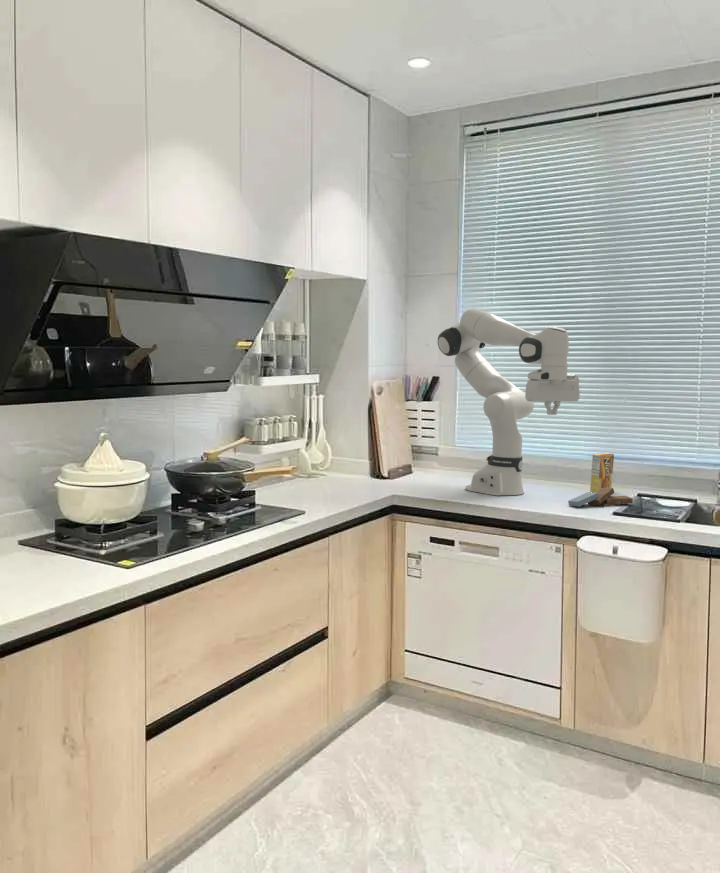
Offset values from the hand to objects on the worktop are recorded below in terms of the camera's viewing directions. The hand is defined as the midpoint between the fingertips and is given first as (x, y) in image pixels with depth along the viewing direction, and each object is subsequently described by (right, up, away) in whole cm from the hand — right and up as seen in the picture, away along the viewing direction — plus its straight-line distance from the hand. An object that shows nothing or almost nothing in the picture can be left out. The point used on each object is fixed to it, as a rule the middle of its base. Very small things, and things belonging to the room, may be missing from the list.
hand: (551, 414), depth 272 cm
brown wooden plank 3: (+22, -31, +14) cm, 40 cm away
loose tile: (+10, -31, +8) cm, 34 cm away
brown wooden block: (+20, -33, +13) cm, 40 cm away
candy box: (+29, -30, +38) cm, 56 cm away
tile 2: (+18, -31, +11) cm, 37 cm away
